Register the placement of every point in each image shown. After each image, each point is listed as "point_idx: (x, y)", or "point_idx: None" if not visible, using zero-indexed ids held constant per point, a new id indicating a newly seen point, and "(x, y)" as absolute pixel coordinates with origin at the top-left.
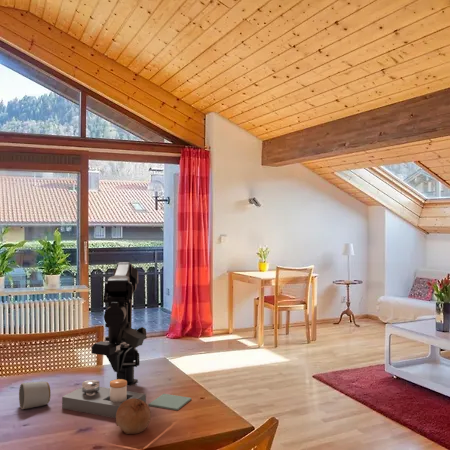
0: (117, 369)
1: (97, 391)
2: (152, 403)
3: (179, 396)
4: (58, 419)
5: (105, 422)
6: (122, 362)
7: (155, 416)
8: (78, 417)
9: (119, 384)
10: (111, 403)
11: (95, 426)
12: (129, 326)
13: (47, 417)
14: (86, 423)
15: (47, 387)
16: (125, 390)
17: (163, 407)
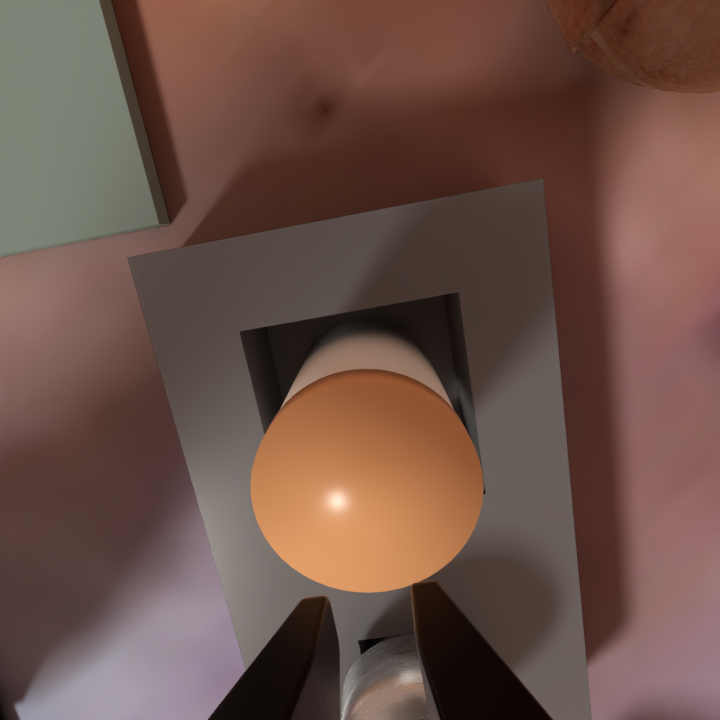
0: (447, 604)
1: (411, 634)
2: (126, 200)
3: None
4: (695, 600)
5: (593, 302)
6: (255, 715)
7: (284, 24)
8: (608, 523)
9: (441, 410)
10: (523, 362)
11: (687, 311)
12: None
13: (698, 673)
14: (670, 404)
15: None
16: (348, 359)
17: (118, 58)
